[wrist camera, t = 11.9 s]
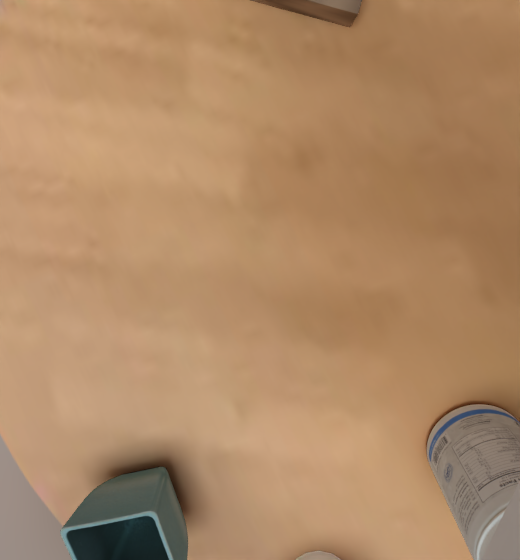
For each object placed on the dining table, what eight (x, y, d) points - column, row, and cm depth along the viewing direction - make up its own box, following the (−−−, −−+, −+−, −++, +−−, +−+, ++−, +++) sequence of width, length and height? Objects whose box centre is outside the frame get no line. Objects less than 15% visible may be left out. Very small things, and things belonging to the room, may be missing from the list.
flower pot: (95, 462, 49) (56, 530, 40) (176, 444, 48) (154, 511, 40) (123, 529, 51) (93, 608, 43) (201, 514, 50) (186, 591, 42)
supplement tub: (534, 463, 47) (643, 600, 33) (443, 496, 49) (511, 640, 35) (503, 383, 45) (607, 495, 31) (408, 420, 47) (466, 543, 32)
